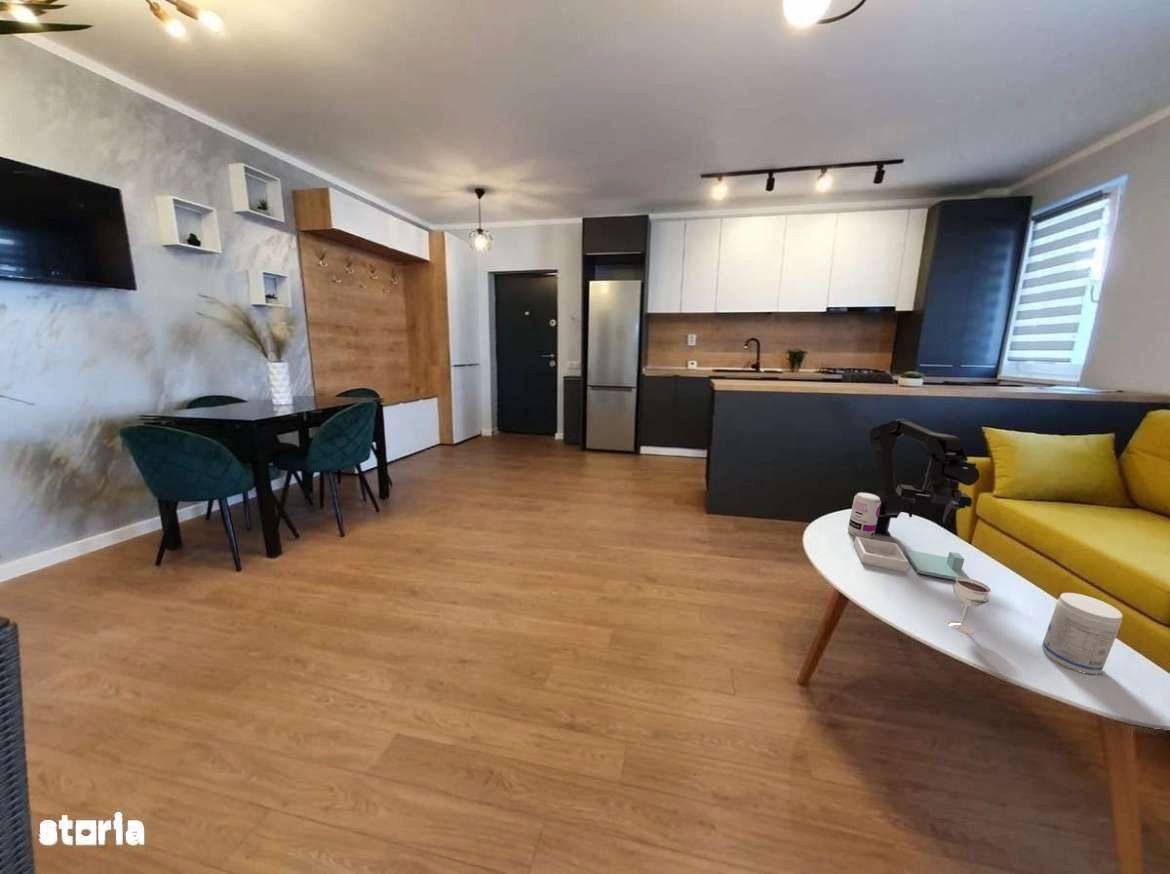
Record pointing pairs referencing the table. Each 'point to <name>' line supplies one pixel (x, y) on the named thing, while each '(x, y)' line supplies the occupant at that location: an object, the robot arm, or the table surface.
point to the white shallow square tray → (880, 554)
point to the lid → (938, 564)
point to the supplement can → (864, 515)
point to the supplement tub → (1081, 632)
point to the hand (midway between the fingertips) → (926, 519)
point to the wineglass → (969, 599)
